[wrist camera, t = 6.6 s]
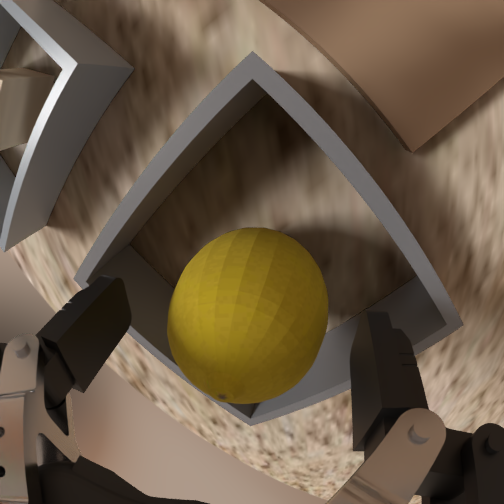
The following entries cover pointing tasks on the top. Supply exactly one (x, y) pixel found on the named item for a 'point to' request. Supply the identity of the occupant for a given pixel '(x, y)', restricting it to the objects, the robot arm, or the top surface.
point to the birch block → (21, 103)
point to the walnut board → (407, 54)
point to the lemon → (248, 316)
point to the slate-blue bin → (54, 111)
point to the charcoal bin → (160, 291)
